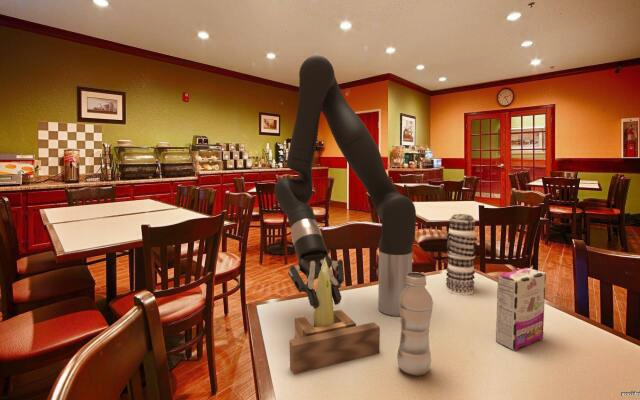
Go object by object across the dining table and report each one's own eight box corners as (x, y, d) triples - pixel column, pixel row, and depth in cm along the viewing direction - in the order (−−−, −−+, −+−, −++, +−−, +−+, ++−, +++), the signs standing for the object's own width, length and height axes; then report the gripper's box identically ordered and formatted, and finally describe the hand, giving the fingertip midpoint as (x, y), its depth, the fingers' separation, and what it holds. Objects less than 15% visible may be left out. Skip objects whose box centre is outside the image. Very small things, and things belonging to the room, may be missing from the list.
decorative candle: (439, 286, 116) (441, 213, 113) (462, 284, 118) (465, 212, 115) (455, 297, 107) (458, 218, 104) (481, 294, 109) (484, 216, 107)
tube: (341, 345, 79) (339, 263, 76) (322, 352, 76) (321, 267, 74) (327, 334, 84) (325, 257, 81) (309, 341, 81) (307, 261, 78)
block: (340, 332, 85) (340, 309, 85) (356, 348, 78) (356, 323, 77) (295, 342, 81) (294, 318, 80) (306, 360, 74) (306, 333, 73)
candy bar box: (522, 330, 86) (526, 266, 84) (543, 339, 81) (547, 272, 80) (493, 341, 81) (496, 274, 79) (514, 352, 76) (518, 280, 74)
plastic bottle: (392, 362, 73) (394, 270, 71) (423, 360, 73) (426, 269, 71) (402, 381, 66) (404, 281, 64) (436, 379, 67) (439, 279, 65)
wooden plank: (373, 347, 79) (373, 322, 78) (379, 352, 76) (379, 327, 76) (290, 367, 71) (289, 339, 71) (293, 374, 69) (293, 345, 68)
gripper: (283, 235, 81) (300, 303, 71) (338, 230, 87) (361, 293, 77) (278, 251, 87) (293, 317, 77) (330, 246, 92) (350, 306, 82)
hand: (327, 304), depth 77 cm, fingers closed on tube, 4 cm apart
